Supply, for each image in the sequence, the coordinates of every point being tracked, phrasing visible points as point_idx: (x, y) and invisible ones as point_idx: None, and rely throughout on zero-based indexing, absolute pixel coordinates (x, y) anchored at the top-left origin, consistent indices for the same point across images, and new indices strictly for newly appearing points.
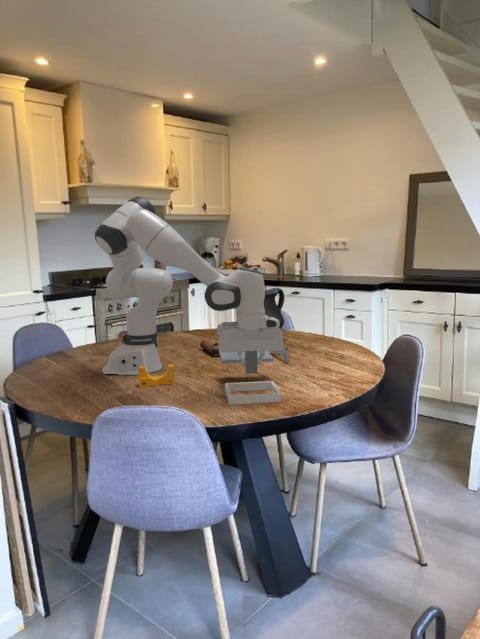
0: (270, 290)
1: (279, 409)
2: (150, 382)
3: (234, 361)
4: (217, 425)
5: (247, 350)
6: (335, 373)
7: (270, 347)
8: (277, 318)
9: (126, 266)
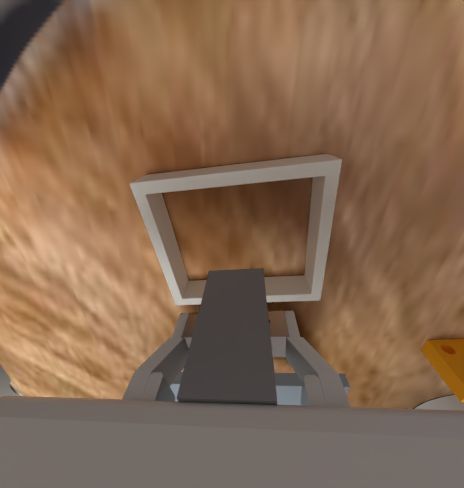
0: None
1: (141, 106)
2: None
3: (298, 379)
4: None
5: (262, 415)
6: (70, 355)
7: (48, 431)
8: None
9: None
